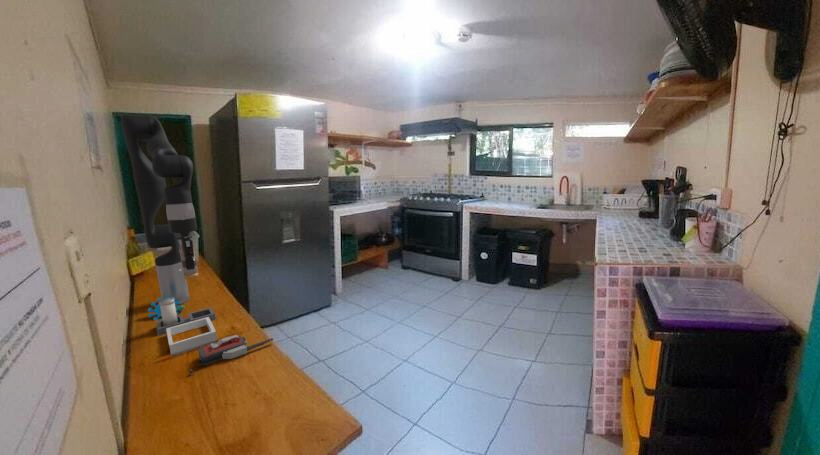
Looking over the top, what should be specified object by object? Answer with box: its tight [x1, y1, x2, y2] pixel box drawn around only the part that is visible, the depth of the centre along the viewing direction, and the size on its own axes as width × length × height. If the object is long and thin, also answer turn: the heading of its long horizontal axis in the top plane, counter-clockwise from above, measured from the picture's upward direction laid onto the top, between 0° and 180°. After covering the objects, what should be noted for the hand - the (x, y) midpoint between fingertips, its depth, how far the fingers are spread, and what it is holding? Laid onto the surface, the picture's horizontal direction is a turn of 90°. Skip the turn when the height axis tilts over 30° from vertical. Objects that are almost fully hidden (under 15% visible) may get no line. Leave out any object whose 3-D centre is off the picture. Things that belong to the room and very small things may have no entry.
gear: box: [147, 296, 186, 322], centre depth 121 cm, size 11×6×10 cm
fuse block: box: [156, 307, 217, 337], centre depth 113 cm, size 17×9×3 cm, turn 130°
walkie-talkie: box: [196, 334, 274, 366], centre depth 95 cm, size 9×4×20 cm
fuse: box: [158, 298, 178, 327], centre depth 109 cm, size 4×4×10 cm
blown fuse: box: [179, 247, 200, 280], centre depth 107 cm, size 4×4×10 cm
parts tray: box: [166, 317, 219, 357], centre depth 103 cm, size 14×12×4 cm
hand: (189, 267), depth 107 cm, fingers closed on blown fuse, 4 cm apart
